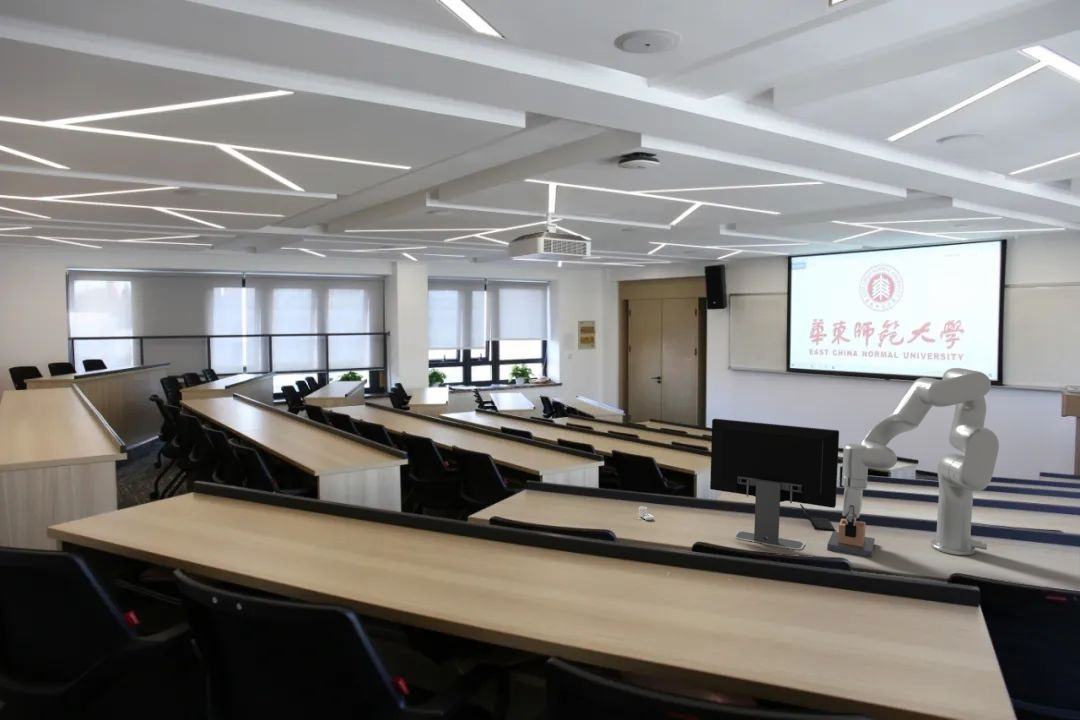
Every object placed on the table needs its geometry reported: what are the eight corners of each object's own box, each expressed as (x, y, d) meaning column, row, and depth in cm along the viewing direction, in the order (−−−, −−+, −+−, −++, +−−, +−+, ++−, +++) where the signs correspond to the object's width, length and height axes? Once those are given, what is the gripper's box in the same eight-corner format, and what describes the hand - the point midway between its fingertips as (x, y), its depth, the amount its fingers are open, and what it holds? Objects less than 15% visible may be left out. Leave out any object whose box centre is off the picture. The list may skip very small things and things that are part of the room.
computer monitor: (834, 548, 220) (840, 429, 216) (831, 556, 213) (836, 433, 209) (712, 526, 241) (715, 417, 237) (705, 533, 233) (708, 421, 230)
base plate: (874, 544, 224) (875, 523, 223) (871, 557, 212) (872, 536, 211) (832, 536, 231) (833, 517, 230) (827, 549, 219) (828, 529, 218)
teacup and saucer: (655, 522, 246) (655, 511, 246) (633, 522, 246) (634, 511, 246) (652, 514, 255) (652, 504, 254) (631, 514, 255) (631, 504, 255)
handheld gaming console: (841, 526, 236) (821, 501, 237) (823, 540, 237) (803, 514, 238) (828, 520, 249) (809, 496, 250) (811, 532, 249) (792, 509, 250)
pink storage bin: (838, 542, 220) (839, 524, 219) (840, 535, 226) (841, 518, 226) (862, 546, 216) (863, 528, 216) (864, 539, 222) (865, 522, 222)
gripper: (845, 474, 229) (842, 523, 230) (838, 486, 214) (836, 538, 215) (869, 477, 225) (866, 526, 226) (864, 489, 210) (861, 542, 212)
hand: (851, 532), depth 221 cm, fingers open, 9 cm apart
